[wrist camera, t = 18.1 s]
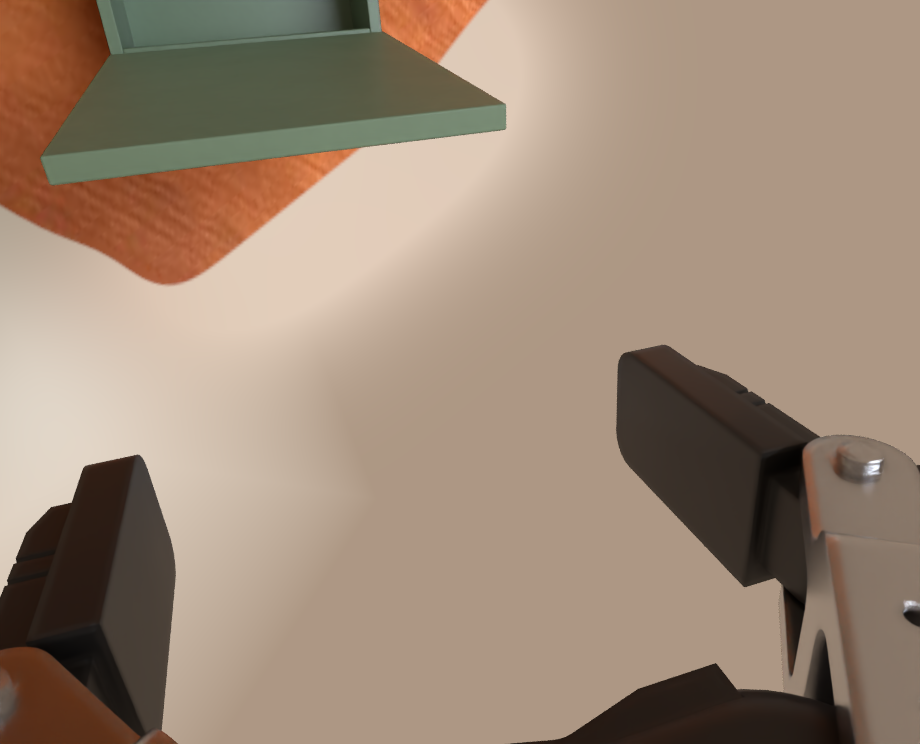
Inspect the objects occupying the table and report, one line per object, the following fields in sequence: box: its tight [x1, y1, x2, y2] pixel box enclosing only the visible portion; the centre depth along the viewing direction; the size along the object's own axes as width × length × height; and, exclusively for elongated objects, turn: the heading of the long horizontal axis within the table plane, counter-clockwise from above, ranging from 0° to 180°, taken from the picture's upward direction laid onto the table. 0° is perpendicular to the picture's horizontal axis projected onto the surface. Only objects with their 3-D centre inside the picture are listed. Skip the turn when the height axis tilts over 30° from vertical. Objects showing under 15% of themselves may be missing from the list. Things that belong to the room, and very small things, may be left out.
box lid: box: [40, 32, 506, 185], centre depth 28 cm, size 18×13×1 cm
